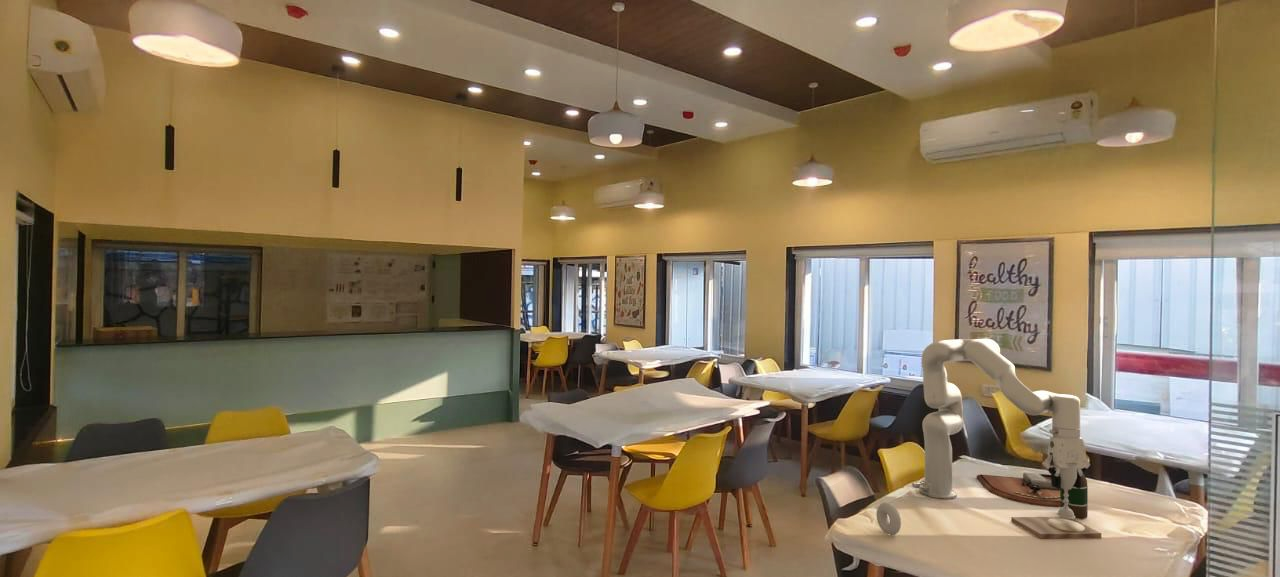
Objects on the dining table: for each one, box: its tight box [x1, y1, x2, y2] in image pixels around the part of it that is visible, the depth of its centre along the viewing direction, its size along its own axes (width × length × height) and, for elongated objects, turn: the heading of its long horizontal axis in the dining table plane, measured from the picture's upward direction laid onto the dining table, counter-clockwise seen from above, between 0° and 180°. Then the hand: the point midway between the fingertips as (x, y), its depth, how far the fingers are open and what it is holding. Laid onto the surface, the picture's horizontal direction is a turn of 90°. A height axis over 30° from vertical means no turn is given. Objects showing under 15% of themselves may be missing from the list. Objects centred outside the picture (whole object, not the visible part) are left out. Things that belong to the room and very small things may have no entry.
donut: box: [875, 501, 902, 536], centre depth 191 cm, size 10×4×10 cm, turn 14°
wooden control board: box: [976, 472, 1060, 508], centre depth 231 cm, size 31×5×30 cm
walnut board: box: [1010, 516, 1102, 540], centre depth 195 cm, size 20×14×2 cm
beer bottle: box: [1059, 473, 1089, 520], centre depth 208 cm, size 8×8×24 cm
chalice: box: [1055, 464, 1078, 520], centre depth 194 cm, size 7×7×18 cm
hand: (1066, 486), depth 194 cm, fingers closed on chalice, 6 cm apart
